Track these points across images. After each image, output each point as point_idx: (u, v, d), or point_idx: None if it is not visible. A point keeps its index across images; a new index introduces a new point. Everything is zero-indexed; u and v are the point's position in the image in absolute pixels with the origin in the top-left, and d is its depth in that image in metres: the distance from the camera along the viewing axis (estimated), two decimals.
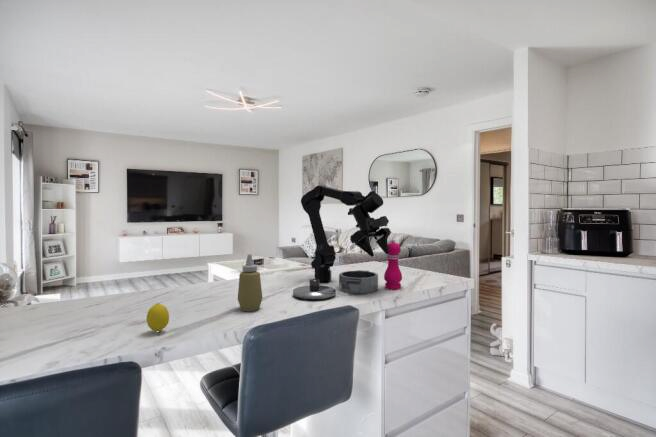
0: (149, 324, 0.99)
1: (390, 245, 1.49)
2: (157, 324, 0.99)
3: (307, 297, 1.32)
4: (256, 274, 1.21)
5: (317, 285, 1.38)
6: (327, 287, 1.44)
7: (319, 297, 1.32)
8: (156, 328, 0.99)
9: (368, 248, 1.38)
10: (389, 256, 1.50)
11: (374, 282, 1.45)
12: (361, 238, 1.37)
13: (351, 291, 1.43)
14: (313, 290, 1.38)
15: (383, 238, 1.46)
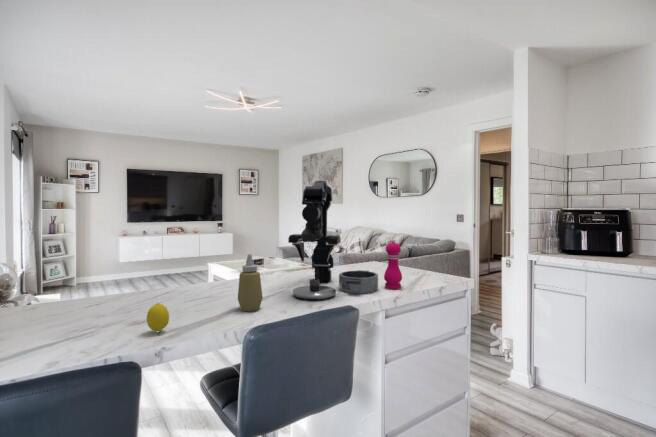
0: (149, 324, 0.99)
1: (390, 245, 1.49)
2: (157, 324, 0.99)
3: (307, 297, 1.32)
4: (256, 274, 1.21)
5: (317, 285, 1.38)
6: (327, 287, 1.44)
7: (319, 297, 1.32)
8: (156, 328, 0.99)
9: None
10: (389, 256, 1.50)
11: (374, 282, 1.45)
12: None
13: (351, 291, 1.43)
14: (313, 290, 1.38)
15: None
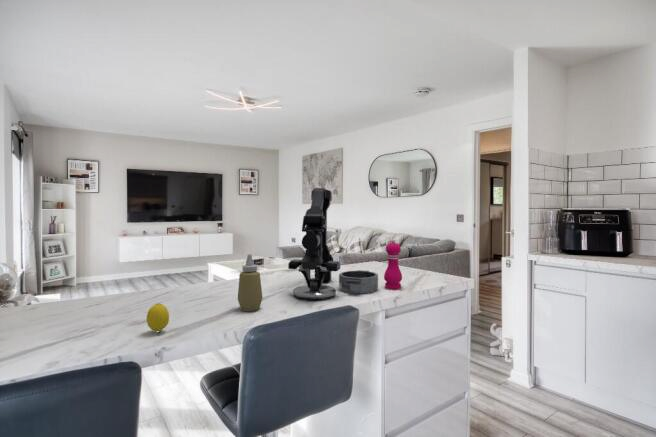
0: (149, 324, 0.99)
1: (390, 245, 1.49)
2: (157, 324, 0.99)
3: (307, 296, 1.32)
4: (256, 274, 1.21)
5: (317, 285, 1.38)
6: (327, 287, 1.44)
7: (319, 296, 1.32)
8: (156, 328, 0.99)
9: None
10: (389, 256, 1.50)
11: (374, 282, 1.45)
12: None
13: (351, 291, 1.43)
14: (313, 290, 1.38)
15: None
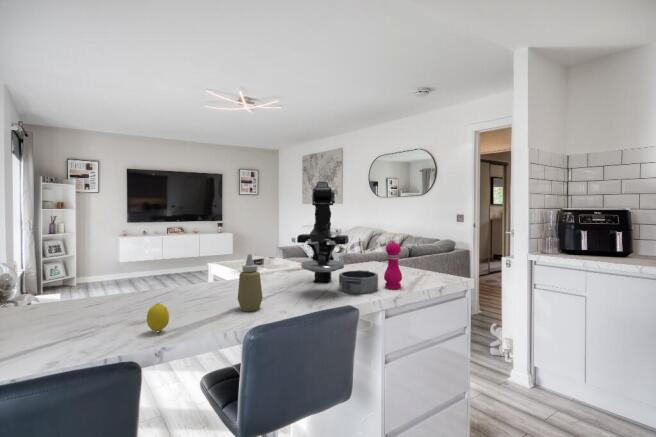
0: (149, 324, 0.99)
1: (390, 245, 1.49)
2: (157, 324, 0.99)
3: (316, 269, 1.34)
4: (256, 274, 1.21)
5: (325, 258, 1.40)
6: (335, 261, 1.46)
7: (327, 269, 1.34)
8: (156, 328, 0.99)
9: None
10: (389, 256, 1.50)
11: (374, 282, 1.45)
12: None
13: (351, 291, 1.43)
14: (321, 263, 1.39)
15: None
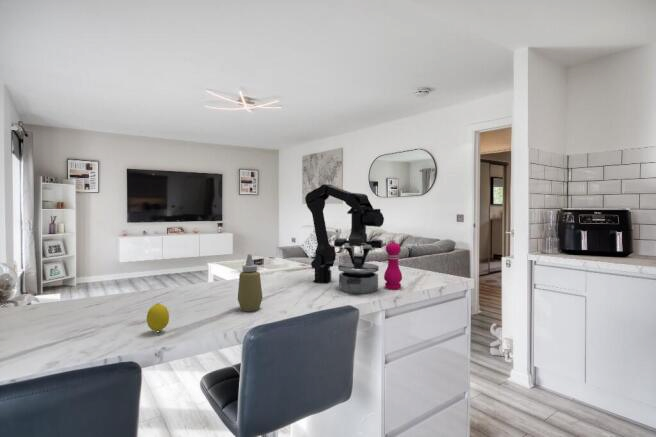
0: (149, 324, 0.99)
1: (390, 245, 1.49)
2: (157, 324, 0.99)
3: (354, 271, 1.41)
4: (256, 274, 1.21)
5: (361, 261, 1.48)
6: (369, 264, 1.53)
7: (365, 271, 1.41)
8: (156, 328, 0.99)
9: None
10: (389, 256, 1.50)
11: (374, 282, 1.45)
12: None
13: (351, 291, 1.43)
14: (358, 266, 1.47)
15: (364, 250, 1.47)
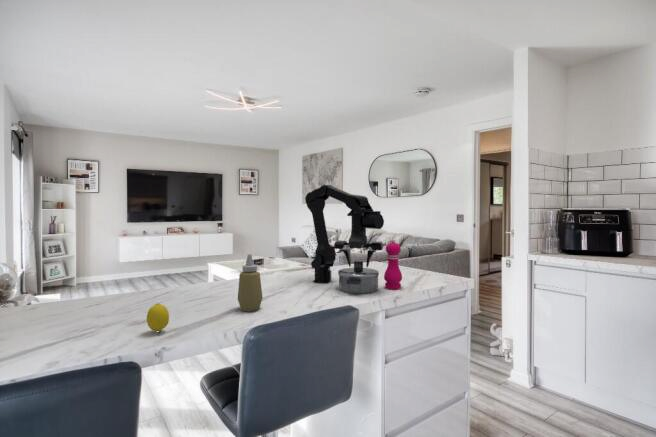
0: (149, 324, 0.99)
1: (390, 245, 1.49)
2: (157, 324, 0.99)
3: (354, 276, 1.42)
4: (256, 274, 1.21)
5: (361, 266, 1.48)
6: (369, 269, 1.54)
7: (365, 277, 1.42)
8: (156, 328, 0.99)
9: None
10: (389, 256, 1.50)
11: (374, 282, 1.45)
12: (341, 249, 1.49)
13: (351, 291, 1.43)
14: (358, 271, 1.47)
15: None
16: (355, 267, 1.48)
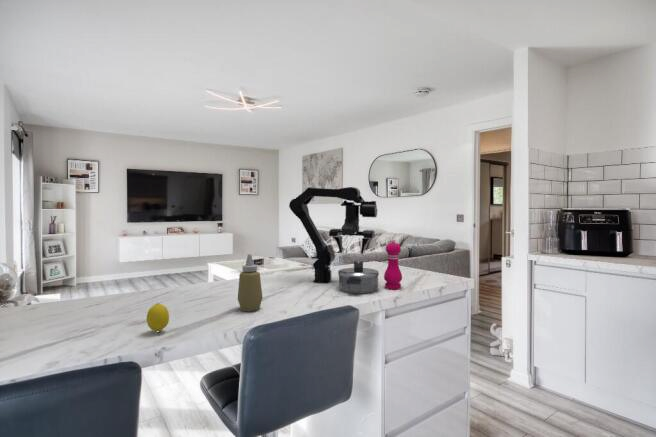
0: (149, 324, 0.99)
1: (390, 245, 1.49)
2: (157, 324, 0.99)
3: (354, 276, 1.42)
4: (256, 274, 1.21)
5: (361, 266, 1.48)
6: (369, 269, 1.54)
7: (365, 277, 1.42)
8: (156, 328, 0.99)
9: None
10: (389, 256, 1.50)
11: (374, 282, 1.45)
12: None
13: (351, 291, 1.43)
14: (358, 271, 1.47)
15: None
16: (355, 267, 1.48)
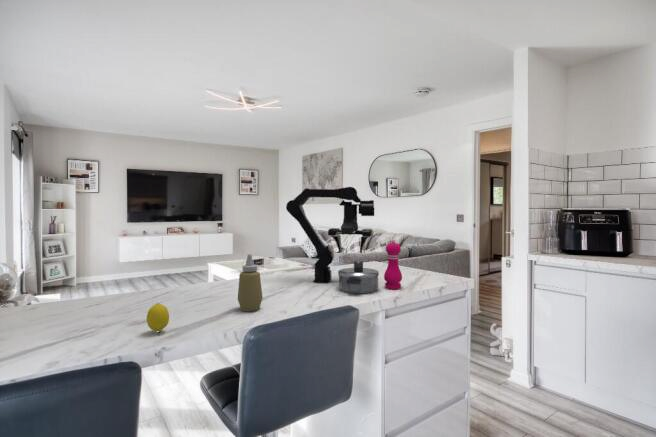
0: (149, 324, 0.99)
1: (390, 245, 1.49)
2: (157, 324, 0.99)
3: (354, 276, 1.42)
4: (256, 274, 1.21)
5: (361, 266, 1.48)
6: (369, 269, 1.54)
7: (365, 277, 1.42)
8: (156, 328, 0.99)
9: None
10: (389, 256, 1.50)
11: (374, 282, 1.45)
12: None
13: (351, 291, 1.43)
14: (358, 271, 1.47)
15: None
16: (355, 267, 1.48)
